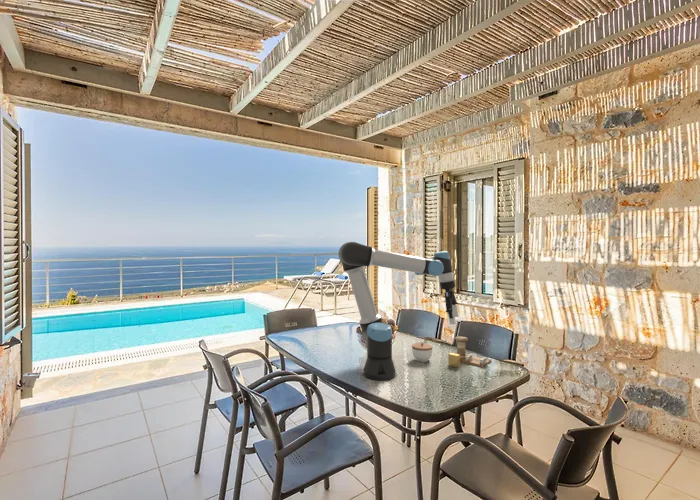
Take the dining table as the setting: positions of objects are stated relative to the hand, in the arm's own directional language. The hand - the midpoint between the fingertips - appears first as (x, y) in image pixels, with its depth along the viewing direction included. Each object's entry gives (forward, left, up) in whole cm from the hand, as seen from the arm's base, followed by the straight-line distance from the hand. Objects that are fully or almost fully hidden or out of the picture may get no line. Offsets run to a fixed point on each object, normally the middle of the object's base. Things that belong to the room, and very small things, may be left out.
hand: (454, 320), depth 185 cm
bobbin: (+9, +1, -22) cm, 24 cm away
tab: (-5, -2, -22) cm, 23 cm away
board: (+9, -4, -22) cm, 24 cm away
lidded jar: (-8, +15, -22) cm, 28 cm away
